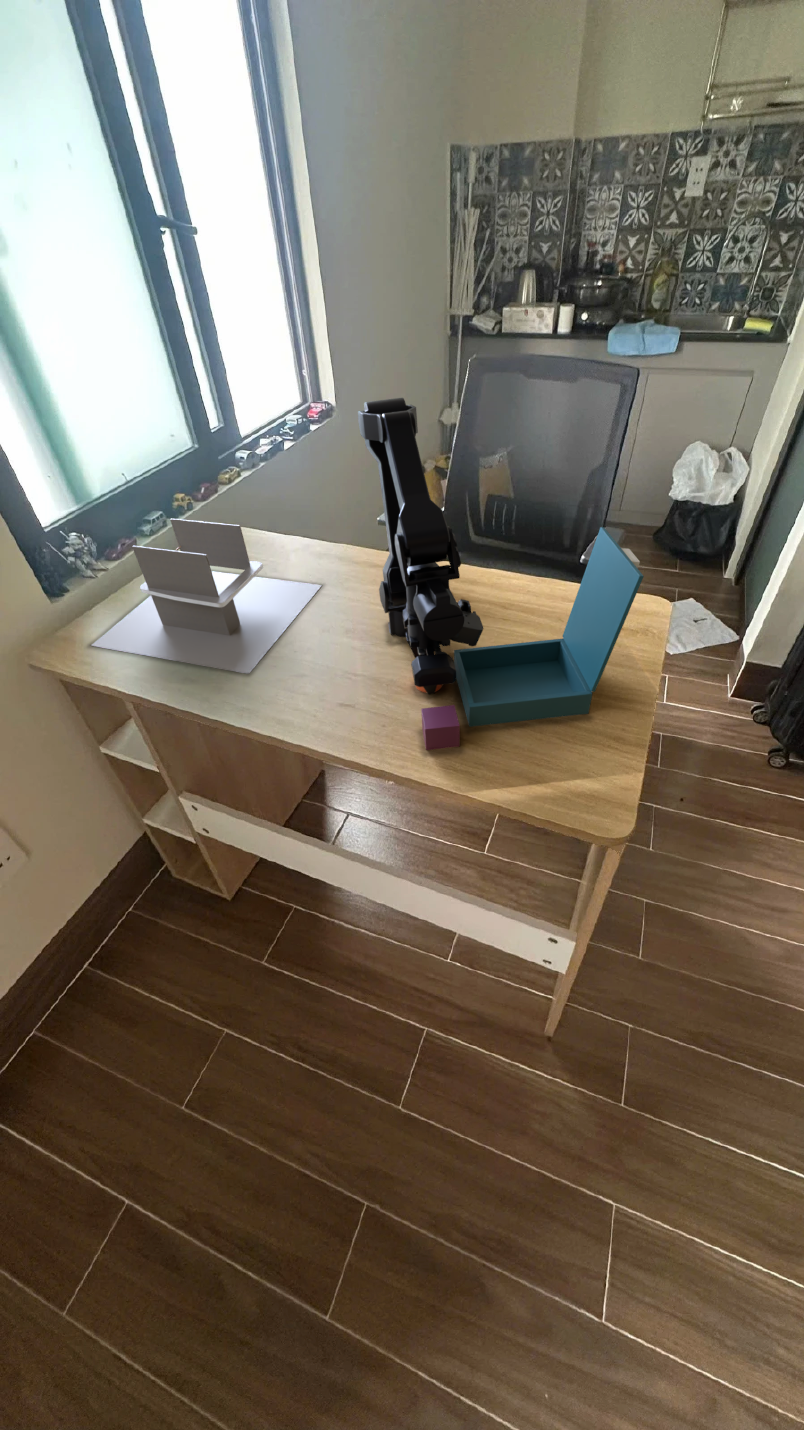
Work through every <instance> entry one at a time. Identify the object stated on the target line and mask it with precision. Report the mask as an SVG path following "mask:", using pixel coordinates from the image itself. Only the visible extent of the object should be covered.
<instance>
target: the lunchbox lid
mask: <svg viewBox="0 0 804 1430" xmlns="http://www.w3.org/2000/svg"><path fill="white" fill-rule="evenodd" d="M640 563H641V562H640V560H639V559H638V558H637V556H636V555H635V554H634V553H633V551H632V550H631V549H630V548H625V547H621V546H620V545H619V543H618V542H617V541H616V540H615V538H613V536H612V535H611V534H610V532H608V530H607V529H606V527H604V526H600V527H599V530H598V533H597V536H596V539H595V542H594V544H593V547H592V550H591V553H590V556H589V559H588V562H587V565H586V568H585V570H584V572H583V576H582V579H581V582H580V585H579V588H578V590H577V593H576V595H575V599H574V603H573V605H572V608H571V610H570V614H569V616H568V619H567V622H566V624H565V627H564V631H563V633H562V638H563V639H564V641H565V642H566V644H567V646H568V648H569V650H570V652H571V654H572V656H573V658H574V660H575V661H576V663H577V665H578V667H579V669H580V671H581V673H582V675H583V677H584V679H585V681H586V682H587V684H588V686H589V688H590V690H591V692H592V693H595V692H596V690H597V688H598V686H599V683H600V680H601V679H602V676H603V674H604V672H605V669H606V667H607V665H608V662H609V660H610V657H611V654H612V652H613V650H614V648H615V646H616V643H617V640H618V638H619V637H620V634H621V631H622V629H623V626H624V624H625V622H626V619H627V617H628V615H629V613H630V610H631V608H632V605H633V603H634V600H635V598H636V596H637V594H638V591H639V589H640V586H641V584H642V582H643V580H644V575H643V573H642V572H641V571H640V570H639V565H640Z"/></svg>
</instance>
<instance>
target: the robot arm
mask: <svg viewBox="0 0 804 1430" xmlns="http://www.w3.org/2000/svg"><path fill="white" fill-rule="evenodd" d="M363 405H364V406H363V410H359V411H357V421H358V429H359V433H360V435H361V437H362V438H363V440H364V443H365V447H366V449H367V450H368V452H369V453H370V454H371V456H372V458H374V460H375V461H376V463H377V468H378V475H379V483H380V490H381V498H382V507H383V514H384V521H385V522H384V523H385V530H386V537H387V544H388V556H387V558H386V560H385V563H384V564H383V567H382V577H383V580H382V581H380V585H379V588H378V592H379V601H380V603H381V606H382V608H383V612H384V614H388V632H389V634H390V635H391V636H397V637H400V638H405V639H406V642H407V644H408V647H409V648H410V650H411V653H412V655H413V656H414V659H413V660H412V661H411V663H410V665H411V671H412V678H413V683H414V686H415V687H416V686H418V687H424V689H425V690H426V692H425V693H426V694H427V695H435V693H436V691H435V690H436V687H437V685H443V686H444V685H450V684H454V683H455V682H457V679H456V669H455V665H454V656H453V657H452V656H451V655H450V654H448V652H445V651H442V648H441V646H442V647H449V646H451V642H454V643H461V644H465V645H468V646H469V647H476V646H477V644H478V642H479V640H480V638H481V636H482V633H483V631H484V630H485V629H484V625H483V623H482V619H481V617H480V615H478V614H477V611H475V610H473V611H472V606H471V604H470V600H467V599H463V598H460V599H459V600H458V601H457V599H456V598H455V596H454V594H453V592H452V590H451V589H450V581H451V580H452V581H453V580H457V579H460V570H459V568H460V567H461V566H462V561H461V557H460V552H459V547H458V543H457V539H456V534H455V533H454V532H453V528H452V527H451V526H450V525H448V524H447V520H446V517H445V513H444V511H443V509H442V508H441V507H440V506H439V505H438V504H436V503H435V502H434V501H433V500H432V499H431V496H430V492H429V488H428V484H427V483H428V482H427V480H426V475H425V471H424V468H423V464H422V459H421V455H420V450H419V447H418V442H417V438H416V436H417V434H418V433H419V431H418V429H419V428H418V415H417V413H418V412H417V406H415V405H413V404H406V400H405V398H404V397H395V398H387V399H380V400H379V399H378V400H372V401H364V403H363ZM447 559H448V563H449V564H445V565H439V564H438V563H442V562H446V561H447Z"/></svg>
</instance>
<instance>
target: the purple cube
mask: <svg viewBox="0 0 804 1430" xmlns="http://www.w3.org/2000/svg"><path fill="white" fill-rule="evenodd" d="M420 711H421V727H422V728H421V731H422V735H423V741H424V746H425V750H426V751H431V750H433V751H434V750H439V749H449V748H458V747H460V740H461V739H460V735H461V734H460V732H461V731H460V730H461V729H460V727H461V726H460V721H459V718H458V714H457V710H456V705H455V704H450V705H449V704H448V705H441V706H433V707H432V706H431V707H424V708H421V709H420Z"/></svg>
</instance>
